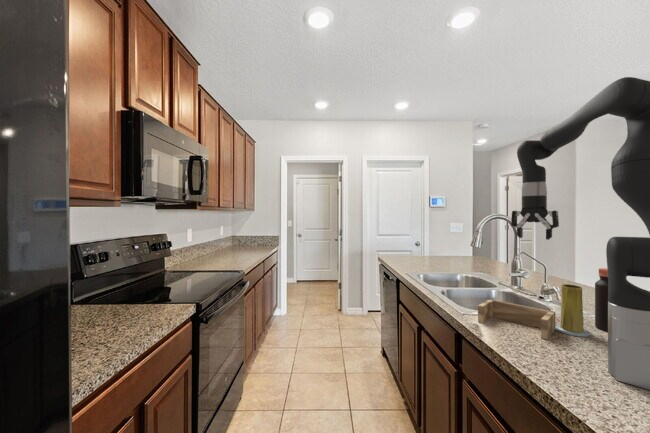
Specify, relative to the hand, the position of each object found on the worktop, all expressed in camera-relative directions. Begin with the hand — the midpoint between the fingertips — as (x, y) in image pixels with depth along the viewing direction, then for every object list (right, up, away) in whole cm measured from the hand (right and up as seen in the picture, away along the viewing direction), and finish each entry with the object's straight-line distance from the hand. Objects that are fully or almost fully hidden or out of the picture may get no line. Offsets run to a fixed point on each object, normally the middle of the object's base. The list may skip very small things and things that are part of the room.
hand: (533, 238), depth 108 cm
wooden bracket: (-12, -30, -7) cm, 33 cm away
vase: (+4, -29, -12) cm, 32 cm away
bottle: (+18, -30, -11) cm, 36 cm away
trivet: (+4, -30, -12) cm, 32 cm away
